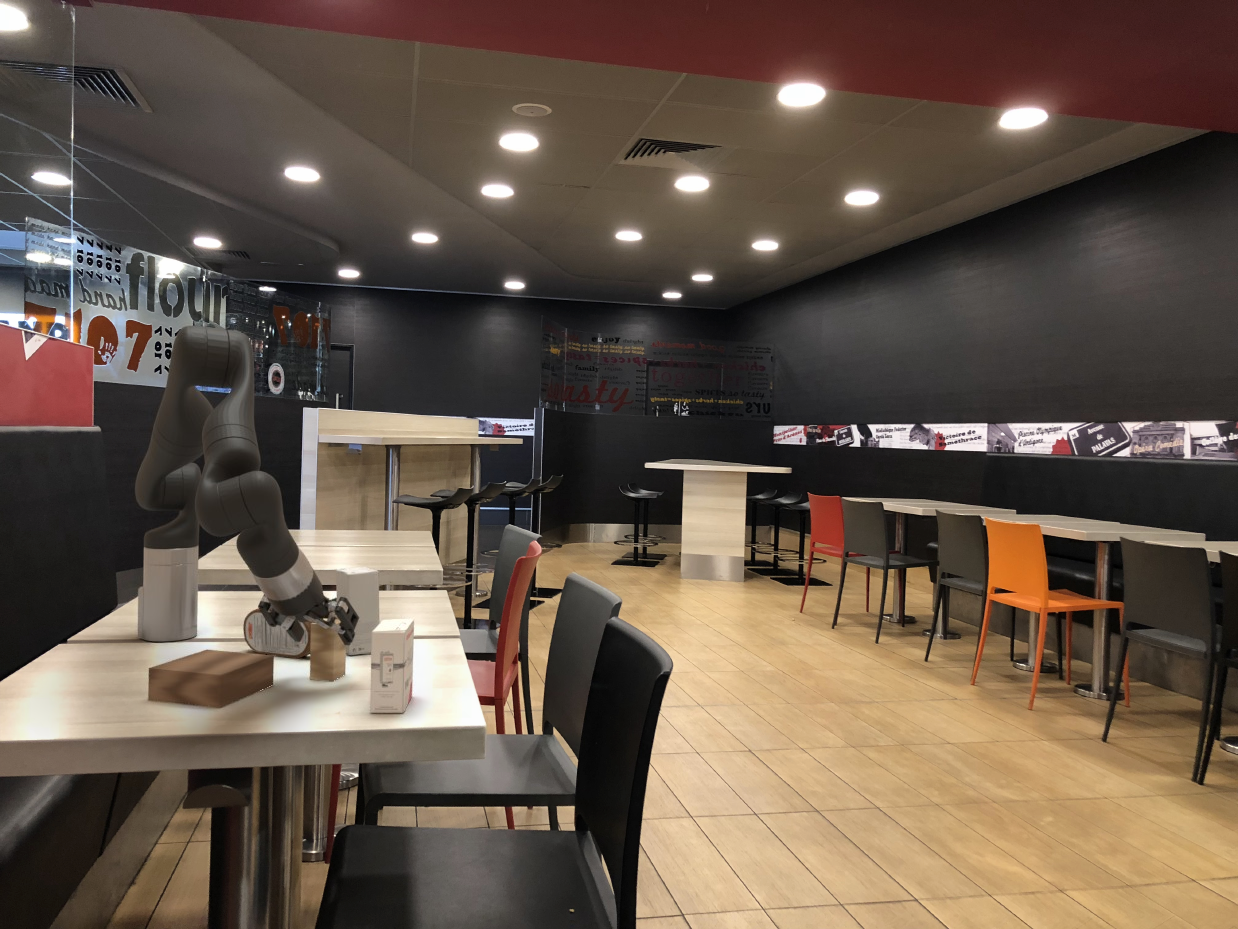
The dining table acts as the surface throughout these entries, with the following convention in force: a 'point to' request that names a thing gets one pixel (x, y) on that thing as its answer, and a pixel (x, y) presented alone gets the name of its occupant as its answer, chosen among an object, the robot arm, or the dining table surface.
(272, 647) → the tin
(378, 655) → the ink box
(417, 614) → the dining table surface
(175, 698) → the walnut slab
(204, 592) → the dining table surface
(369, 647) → the skincare box
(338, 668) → the oak post
